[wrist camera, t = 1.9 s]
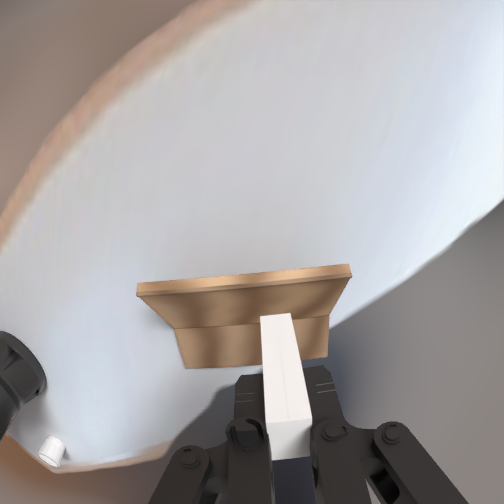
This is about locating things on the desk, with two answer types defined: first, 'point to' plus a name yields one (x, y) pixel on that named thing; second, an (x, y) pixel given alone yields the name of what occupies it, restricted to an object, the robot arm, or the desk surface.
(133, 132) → the desk surface
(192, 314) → the plank
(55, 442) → the white cup
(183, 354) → the laid board
